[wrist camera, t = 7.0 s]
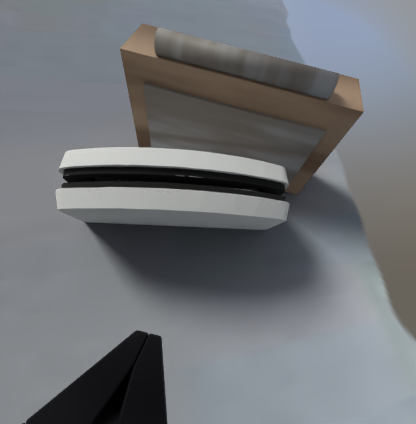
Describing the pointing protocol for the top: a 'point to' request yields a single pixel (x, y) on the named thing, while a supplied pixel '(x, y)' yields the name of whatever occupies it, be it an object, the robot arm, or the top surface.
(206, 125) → the tan flat boxy piece
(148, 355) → the robot arm
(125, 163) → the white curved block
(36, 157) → the top surface
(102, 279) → the top surface
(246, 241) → the top surface
